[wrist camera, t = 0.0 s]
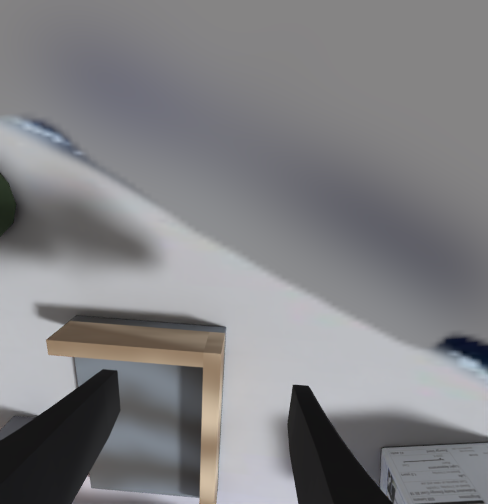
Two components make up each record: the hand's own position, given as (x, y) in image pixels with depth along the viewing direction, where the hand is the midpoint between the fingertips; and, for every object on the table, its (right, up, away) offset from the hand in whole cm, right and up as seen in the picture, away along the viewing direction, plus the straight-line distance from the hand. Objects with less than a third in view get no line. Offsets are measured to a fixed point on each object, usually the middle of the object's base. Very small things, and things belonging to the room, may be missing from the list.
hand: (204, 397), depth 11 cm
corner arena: (-6, -8, +13) cm, 17 cm away
